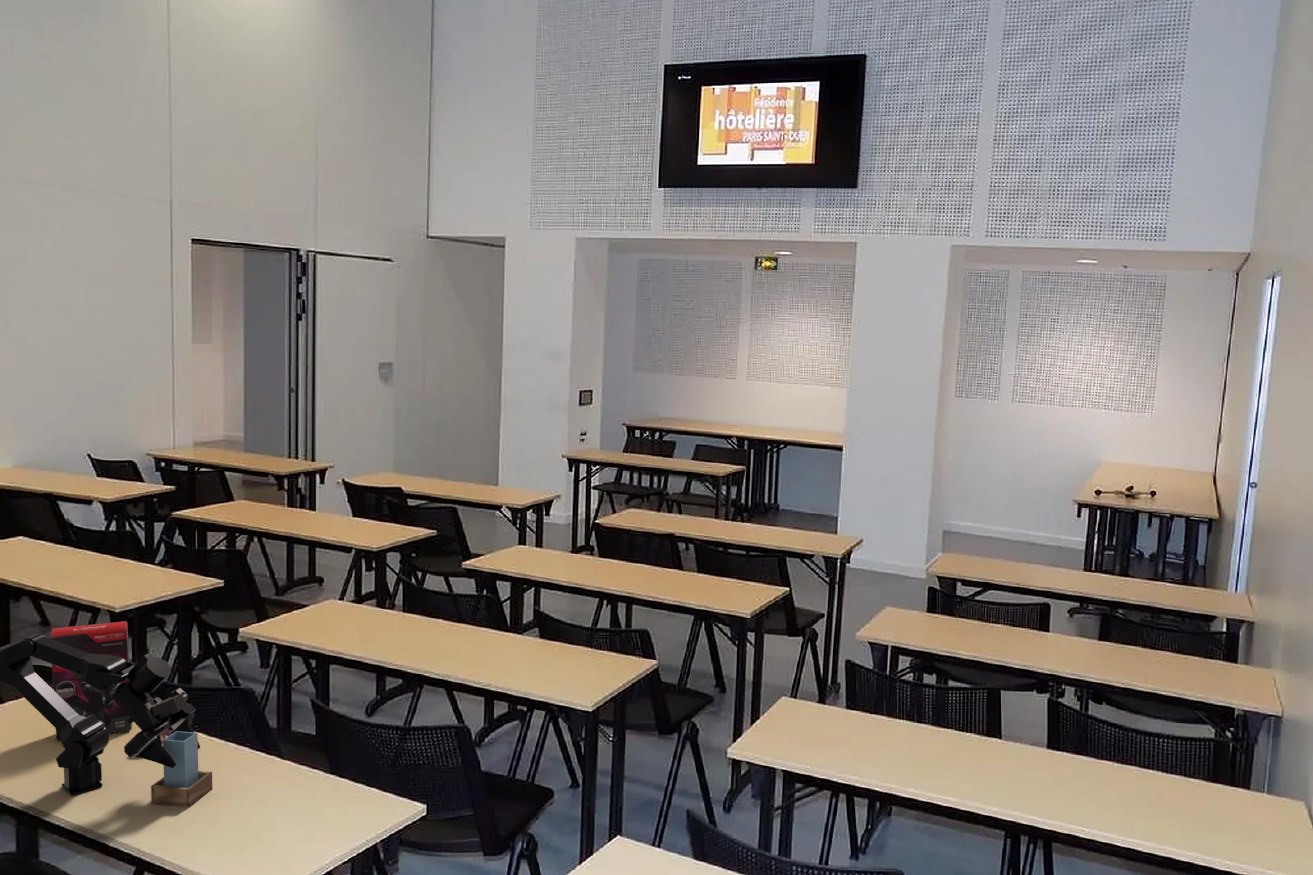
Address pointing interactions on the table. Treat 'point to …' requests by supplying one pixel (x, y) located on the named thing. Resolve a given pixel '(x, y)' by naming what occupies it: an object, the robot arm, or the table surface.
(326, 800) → the table surface
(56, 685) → the graphics card box
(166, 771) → the tall slate-blue crate
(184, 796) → the walnut crate
